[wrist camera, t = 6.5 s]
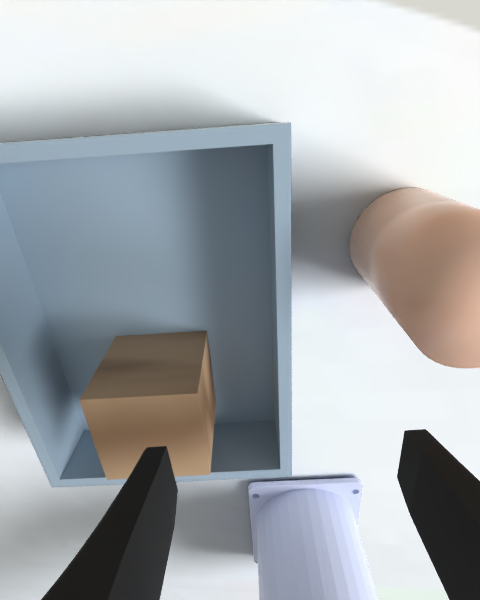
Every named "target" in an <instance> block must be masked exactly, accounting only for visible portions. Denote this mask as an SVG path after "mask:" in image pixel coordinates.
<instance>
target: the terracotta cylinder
mask: <svg viewBox="0 0 480 600" xmlns="http://www.w3.org/2000/svg"><path fill="white" fill-rule="evenodd" d="M349 251H350V257H351V260H352V263H353V265H354V267H355V268H356V270H357V271H358V272H359V274H360V275H361V276H362V278H363V279H364V280H365V281H366V283H367V284H368V285H369V286H370V288H371V289H372V290H373V292H374V293H375V294H376V295H377V297H378V298H379V299H380V300H381V302H382V303H383V304H384V306H385V307H386V308H387V309H388V311H389V312H390V313H391V314H392V316H393V317H394V318H395V319H396V321H397V322H398V323H399V325H400V326H401V327H402V328H403V330H404V331H405V332H406V333H407V335H408V336H409V337H410V339H411V340H412V341H413V342H414V344H415V345H416V346H417V347H418V349H419V350H420V351H421V352H422V353H423V354H424V355H426V356H427V357H428V358H429V359H431V360H433V361H435V362H437V363H440V364H442V365H445V366H450V367H455V368H478V367H480V210H479V209H477V208H474V207H471V206H468V205H466V204H463V203H460V202H458V201H455V200H452V199H449V198H447V197H444V196H441V195H439V194H436V193H433V192H430V191H428V190H424V189H420V188H402V189H397V190H393V191H391V192H388V193H386V194H384V195H382V196H380V197H379V198H377V199H376V200H374V201H373V202H372V203H371V204H370V205H368V206H367V207H366V208H365V210H364V211H363V212H362V213H361V214H360V216H359V217H358V219H357V221H356V222H355V224H354V227H353V229H352V232H351V236H350V242H349Z"/></svg>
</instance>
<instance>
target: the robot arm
mask: <svg viewBox="0 0 480 600" xmlns="http://www.w3.org/2000/svg"><path fill="white" fill-rule="evenodd" d="M397 478H398V481H399V484H400V487H401V490H402V493H403V496H404V499H405V502H406V505H407V507H408V510H409V513H410V515H411V517H412V520H413V522H414V524H415V526H416V528H417V531H418V533H419V535H420V537H421V539H422V542H423V544H424V546H425V548H426V550H427V552H428V554H429V557H430V559H431V561H432V563H433V565H434V567H435V569H436V572H437V574H438V576H439V578H440V580H441V582H442V584H443V587H444V589H445V591H446V593H447V595H448V597H449V599H450V600H480V481H479V480H478V479H477V478H476V477H475V476H474V475H473V474H472V473H470V472H469V471H468V470H467V469H466V468H465V467H464V466H463V465H462V464H461V463H460V462H459V461H458V460H457V459H456V458H455V457H454V456H453V455H452V454H451V453H450V452H449V451H448V450H447V449H445V448H444V447H443V446H442V445H441V444H440V443H439V442H438V441H437V440H436V439H435V438H434V437H433V436H432V435H431V434H430V433H429V432H428V431H427V430H426V429H423V430H408V431H405V432H404V438H403V444H402V450H401V456H400V463H399V469H398V475H397ZM362 490H363V484H362V481H361V480H360V479H359V478H335V479H314V480H292V481H270V482H253V483H251V484H249V486H248V494H249V506H250V518H251V530H252V542H253V554H254V561H255V562H256V563H258V576H259V600H379V598H378V595H377V591H376V588H375V585H374V581H373V578H372V574H371V571H370V567H369V564H368V561H367V557H366V554H365V550H364V547H363V544H362V540H361V537H360V533H359V530H358V520H359V512H360V505H361V497H362ZM177 492H178V489H177V485H176V481H175V477H174V473H173V469H172V465H171V461H170V457H169V453H168V449H167V446H159V447H147V448H146V449H145V450H144V452H143V453H142V455H141V457H140V459H139V460H138V462H137V464H136V466H135V467H134V469H133V471H132V472H131V474H130V476H129V477H128V479H127V481H126V482H125V484H124V486H123V487H122V489H121V490H120V492H119V494H118V495H117V497H116V498H115V500H114V501H113V503H112V504H111V506H110V507H109V509H108V511H107V512H106V514H105V515H104V517H103V518H102V520H101V521H100V523H99V524H98V525H97V527H96V528H95V530H94V531H93V532H92V534H91V535H90V537H89V538H88V540H87V541H86V542H85V544H84V545H83V547H82V548H81V549H80V551H79V552H78V554H77V555H76V556H75V558H74V559H73V560H72V561H71V563H70V564H69V565H68V567H67V568H66V569H65V571H64V572H63V573H62V574H61V576H60V577H59V578H58V580H57V581H56V582H55V583H54V584H53V586H52V587H51V588H50V589H49V591H48V592H47V593H46V594H45V596H44V597H43V598H42V599H41V600H159V599H160V595H161V590H162V585H163V580H164V575H165V570H166V565H167V560H168V555H169V550H170V545H171V540H172V535H173V530H174V523H175V514H176V503H177Z"/></svg>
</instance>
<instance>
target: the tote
mask: <svg viewBox="0 0 480 600" xmlns="http://www.w3.org/2000/svg"><path fill="white" fill-rule="evenodd" d="M193 331H207V334H208V342H209V349H210V357H211V365H212V373H213V381H214V389H215V396H216V410H215V422H214V434H213V447H212V459H211V471H210V475H195V476H175V481H176V482H181V481H203V480H225V479H246V478H268V477H290V476H292V392H291V123H281V122H278V123H264V124H250V125H237V126H223V127H209V128H196V129H182V130H168V131H154V132H141V133H127V134H113V135H99V136H86V137H72V138H58V139H44V140H31V141H17V142H3V143H0V374H1V376H2V378H3V381H4V383H5V385H6V387H7V389H8V392H9V394H10V396H11V398H12V401H13V403H14V405H15V407H16V409H17V412H18V414H19V416H20V418H21V420H22V423H23V425H24V427H25V429H26V432H27V434H28V436H29V438H30V440H31V443H32V445H33V447H34V449H35V451H36V454H37V456H38V458H39V460H40V463H41V465H42V467H43V469H44V471H45V474H46V476H47V478H48V480H49V482H50V485H51V487H73V486H94V485H116V484H125V482H126V481H127V479H113V480H107V479H106V476H105V473H104V470H103V467H102V464H101V462H100V459H99V456H98V453H97V450H96V447H95V444H94V441H93V439H92V436H91V433H90V430H89V427H88V424H87V421H86V418H85V416H84V413H83V410H82V407H81V404H80V401H79V399H80V397H81V396H82V394H83V392H84V390H85V389H86V387H87V385H88V384H89V382H90V380H91V378H92V377H93V375H94V373H95V371H96V370H97V368H98V366H99V364H100V363H101V361H102V359H103V357H104V356H105V354H106V352H107V350H108V349H109V347H110V345H111V343H112V342H113V340H114V338H115V336H126V335H143V334H159V333H176V332H193Z"/></svg>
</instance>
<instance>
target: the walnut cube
mask: <svg viewBox="0 0 480 600" xmlns="http://www.w3.org/2000/svg"><path fill="white" fill-rule="evenodd" d="M79 401H80V404H81V407H82V410H83V413H84V416H85V418H86V421H87V424H88V427H89V430H90V433H91V436H92V439H93V441H94V444H95V447H96V450H97V453H98V456H99V459H100V462H101V464H102V467H103V470H104V473H105V476H106V479H107V480H113V479H128V477H129V476H130V474H131V472H132V471H133V469H134V467H135V466H136V464H137V462H138V460H139V459H140V457H141V455H142V453H143V452H144V450H145V449H146V448H147V447H159V446H167V449H168V453H169V457H170V461H171V465H172V469H173V473H174V477H175V476H195V475H210V471H211V459H212V447H213V434H214V422H215V410H216V396H215V389H214V381H213V373H212V365H211V357H210V349H209V342H208V334H207V331H193V332H176V333H159V334H143V335H126V336H115V338H114V340H113V342H112V343H111V345H110V347H109V349H108V350H107V352H106V354H105V356H104V357H103V359H102V361H101V363H100V364H99V366H98V368H97V370H96V371H95V373H94V375H93V377H92V378H91V380H90V382H89V384H88V385H87V387H86V389H85V390H84V392H83V394H82V396H81V397H80V399H79Z"/></svg>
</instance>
